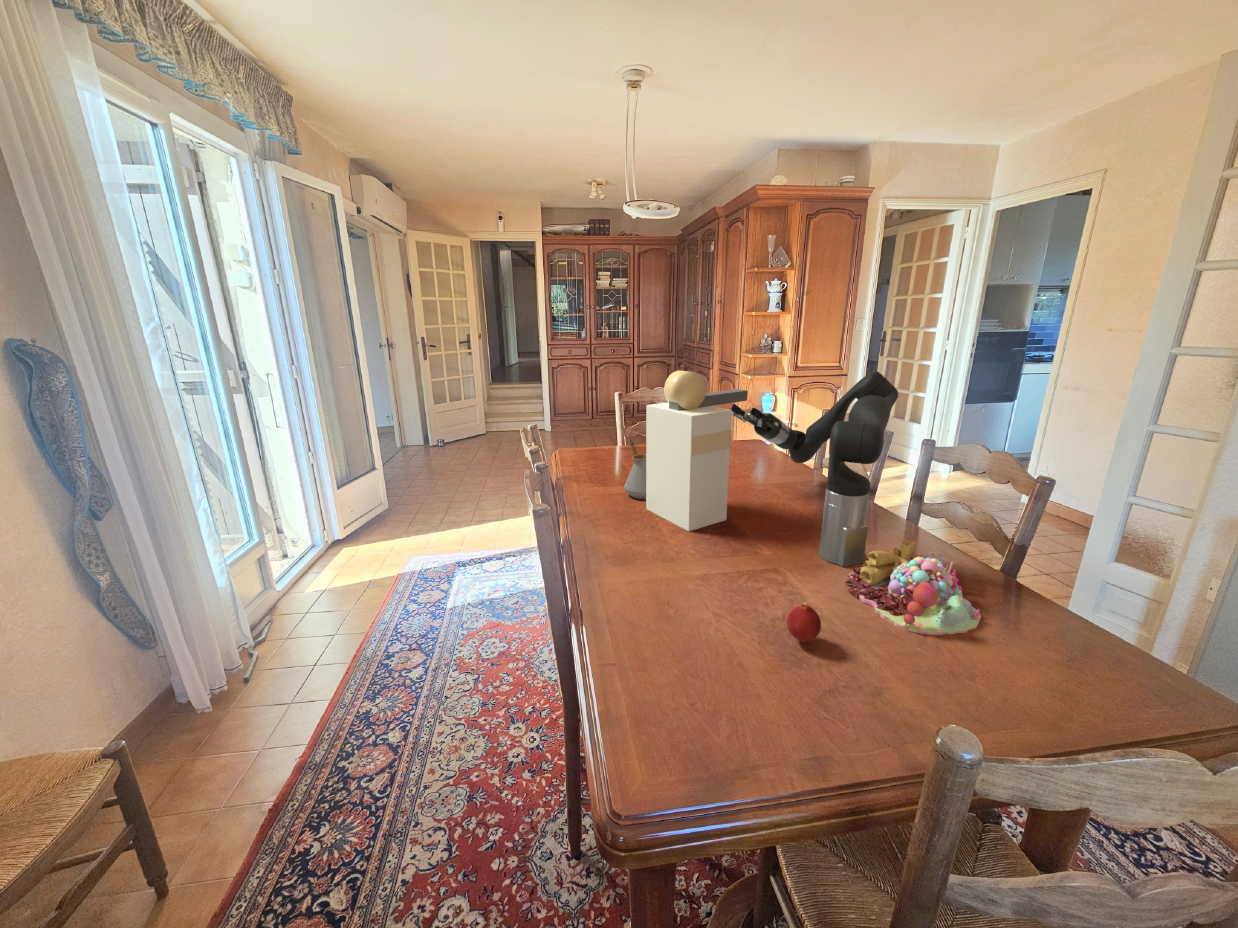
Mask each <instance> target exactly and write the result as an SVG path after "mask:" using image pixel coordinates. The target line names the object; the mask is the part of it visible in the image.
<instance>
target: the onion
mask: <svg viewBox="0 0 1238 928" xmlns="http://www.w3.org/2000/svg"><path fill="white" fill-rule="evenodd" d="M786 628H787V629H788V632H789V634H790V635H791V636H792V637H794V639H796V640H797V641H799V642H800V643H802V644H803V643H807V642H810V641H811V642H812V640H815V639H817V637H818V636H819V635H820V633H821V630H822V620H821V618H820V616H819V614H818V613H817V611H816V610H815V609H814V608H813V607H811V606H810V605H809V604H808V603H807V602H803V603H800V605H797V606H796V607H793V608H792V609H791V610H790V612H789V613H788V615H787V618H786Z"/></svg>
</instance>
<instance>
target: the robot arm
mask: <svg viewBox="0 0 1238 928" xmlns="http://www.w3.org/2000/svg"><path fill="white" fill-rule="evenodd" d="M898 398H899V391H898V389H897V388H896V387H895V386H894V385H893V383H891V381H889V380H888V379H887V378H886V377H885V376H884V375H883V374H882V373H881V372H879V371H877V370H874V371H871V372H869V373H867V374H866V375H864V376H863V377H862V378H861V379H860V380H858V382H856V383H855V384H854V385H852V387H851V388H850V389H849V390H848V391H847V392H846V393H844V394H843V395H842V397H840V398H839V399H838V400H837V402H836V403H834V404H833V406H831V408H829V410H828V411H827V412H826V413H824V414H823V415H822V416H821V417H820V418H818V419H817V420H816V421H815V422H813V423H812V424H810V425H809V426H808V427H807V428H806V430H805V432H803V431H801V430H796V429H793V428H791V427H789V426H788V425H787V424H786V423H785V422H784V421H782V420H781V419H780V418H778V417H776V416H775V415H773V414H772V413H771V412H763V411H760V410H759V409H758V408H756V407H752V408H751V410H750V409H743V408H741V407H740V406H738V405H736V404H735V403H731V405H730V407H729V410H732V416H734V417H735V418H737V419H738V420H739V421H741V422H744V423H748V424H749V425H751V426H753V429H754V431H755V433H756V434H757V435H758V436H760V437H761V438H763V439H764V440H766V441H768V442H769V443H771V444H774V445H775V446H777V447H779V448H780V449H783V450H788V453H789V457H790V459H791V461H792V462H794V463H796V464H804V463H806V462H808V461H810V460H811V459H813V457H814V456H815V455H816V453H817V452H818V451H819V449H820V448H821V447H822V445H824V443H826V442H827V441H828V440H829V451H828V452H829V453H828V466H827V467H828V468H827V469H828V470H827V478H826V484H825V485H826V486H825V495H824V496H825V498H824V505H823V512H822V513H823V514H822V522H821V532H820V542H819V551H818V552H819V553H818V554H819V556H820V558H821V559H822V560H824V561H826V562H829V563H831V564H836V565H839V566H841V567H843V568H844V567H847V566H854V565H859V564H863V563H864V562H865V560H864V559H865V555H866V554H865V553H866V551H865V550H866V546H867V539H868V532H869V526H868V524H866V518H867V511H868V503H869V497H870V489H871V482H870V479H869V478H867V477H866V476H864V475H862V474H860V473H858V472H856V471H854V470H853V469H851V468H850V467H849V466H848V465H847V464H846V463H853V464H860V465H872V464H875V463H876V462H877V461H878V460H879V459H880V457H881V455H882V451H883V448H884V442H885V431H886V428H887V426H888V423H889V420H890V417H891V411H892V409H893V407H894V405H895V403H896V402H897V400H898ZM856 399H857V400H856ZM854 400H856V401H855V402H854V404H853V405H852V406H851V404H852V403H853V401H854ZM850 406H851V409H850V410H849V407H850ZM848 410H849V414H848V418H847V419H848V420H845V419H846V416H847V412H848ZM845 462H846V463H845Z"/></svg>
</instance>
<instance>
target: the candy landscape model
mask: <svg viewBox="0 0 1238 928" xmlns="http://www.w3.org/2000/svg"><path fill="white" fill-rule="evenodd" d="M916 550H917V543H916V542H914V541H913V540H911V539H909V540H907V539H906V540H903V541H902V542H901V546H900V549H898V548H897V547H896V548H894V549H893V553H892V552H887V551H883V550H872V551H870V552H867V553H866V554H865V556H866V558H867V559H868V560H864V561H863V563H862V564H861V566H858V567H854V568H853V569H852V571H853V572H849V574H848V579H846V581H845V582H844V584H847V585H852V586H851V587H850V588H848V589H847V591H848V592H849V593H851V595H853V596H854V597H855V598H859V600H860V601H861V602H862V603H864V604H866V605H869V606H871V607H873V610H874V612H875V613H876V614H877V615H878V616H880V617H881V618H882V620H885V621H887V622H889V623H890V624H892V625H894V626H895V627H896V628H899V629H901V630H905V631H907V632H909V633H916V634H920V635H931V636H943V635H955V634H963V633H964V634H967V633H968V631H972V630H976V629H977V627H978V626H979V623H980V620H981V618H982V615H981V613H980V608H978V609H976V608H975V607H974V606H972V605H973V604H972V603H971V601H969V600H968V599H966V598H965V597H963V596H964V595H963V593H962V592H963V591H962V590H963V587H962V586H961V585H959V584H958V583H959V581H960V580H959V578H957V571H956V569H955V568H953V565H954V562H953V561H951V562H950V565H949V564H947V565H946V566H945V565H944V562H945V558H944V557H943V558H942V554H941V553H939V555H938V557H937V558H934V557H935V552H933V553H932V554H931V555H930V557H926V558H925V557H923V556H916V557H915V558H914V555H915V552H916ZM952 569H953V572H952V571H951V570H952Z"/></svg>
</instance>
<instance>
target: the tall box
mask: <svg viewBox="0 0 1238 928" xmlns="http://www.w3.org/2000/svg"><path fill="white" fill-rule="evenodd" d="M645 406H646V407H645V408H646V411H645V412H646V413H645V414H646V416H645V419H646V424H645V425H646V426H645V427H646V428H645V431H646V433H645V434H646V435H645V437H646V438H645V439H646V443H645V445H646V452H645V453H646V454H645V455H646V499H645V500H646V501H645V504H646V506H645V507H646V508H645V509H646V510H647V511H649V512H652V513H653V514H655V515H657V516H658V517H660V518H663V519H665V520H667V521H668V522H670V523H672V524H674V525H675V526H677V527H679V528H681V529H683V530H685V531H687V532H692V531H694V530H698V529H702V528H704V527H707V526H710V525H715V524H717V523H721V522H724V521H727V513H728V492H729V491H728V490H729V477H730V475H729V473H730V457H731V456H730V452H731V448H732V416H733V412H732V410H730V408H723V407H718V406H716V405H714V406H707V407H700V408H695V409H692V410H689V409H686V410H679V411H678V410H673V409H669V403H668V402H667V401H666V402H660V403H653V404H646V405H645Z"/></svg>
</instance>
